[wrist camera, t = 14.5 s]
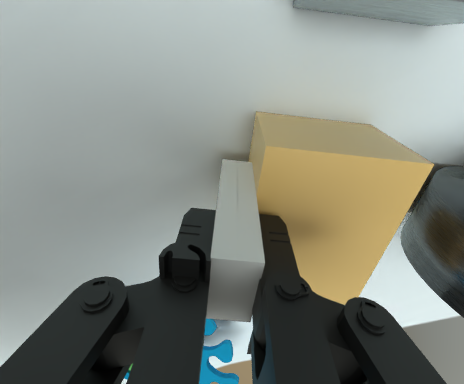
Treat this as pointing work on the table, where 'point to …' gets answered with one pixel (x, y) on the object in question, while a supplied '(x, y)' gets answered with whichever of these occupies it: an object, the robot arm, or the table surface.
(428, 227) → the wheel
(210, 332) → the blue lobed piece
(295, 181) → the block
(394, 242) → the table surface
